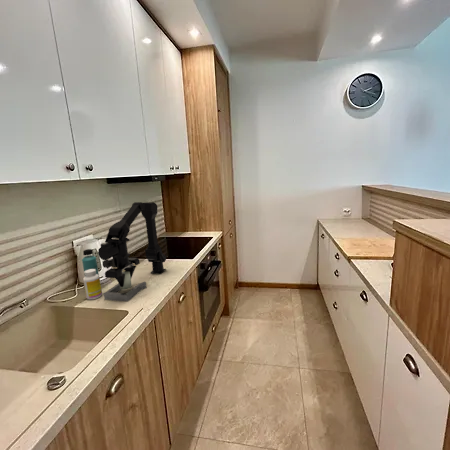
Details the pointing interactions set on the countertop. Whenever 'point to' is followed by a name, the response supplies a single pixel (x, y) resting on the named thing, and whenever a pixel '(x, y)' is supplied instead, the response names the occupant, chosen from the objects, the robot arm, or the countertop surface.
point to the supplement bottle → (92, 284)
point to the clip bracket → (113, 294)
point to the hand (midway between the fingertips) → (125, 284)
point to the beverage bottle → (89, 261)
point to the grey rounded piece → (126, 281)
